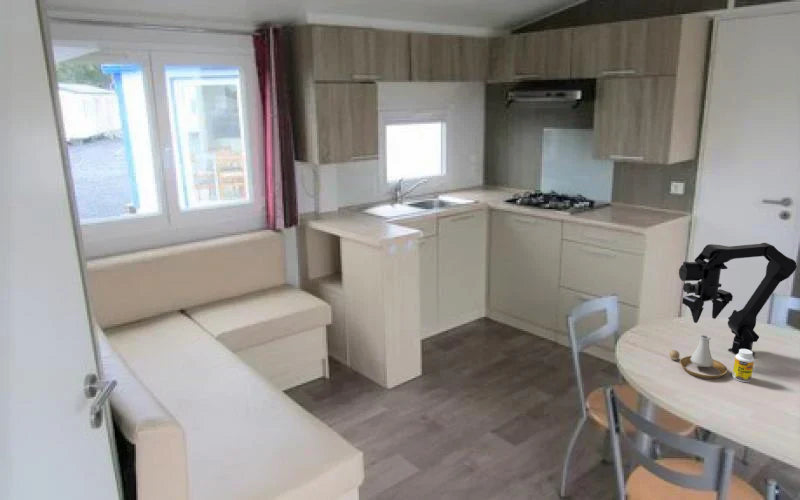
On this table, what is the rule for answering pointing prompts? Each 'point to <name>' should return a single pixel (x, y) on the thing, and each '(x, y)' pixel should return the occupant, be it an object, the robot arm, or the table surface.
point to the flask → (702, 353)
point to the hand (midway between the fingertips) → (704, 320)
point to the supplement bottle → (743, 365)
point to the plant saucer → (717, 365)
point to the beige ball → (674, 355)
